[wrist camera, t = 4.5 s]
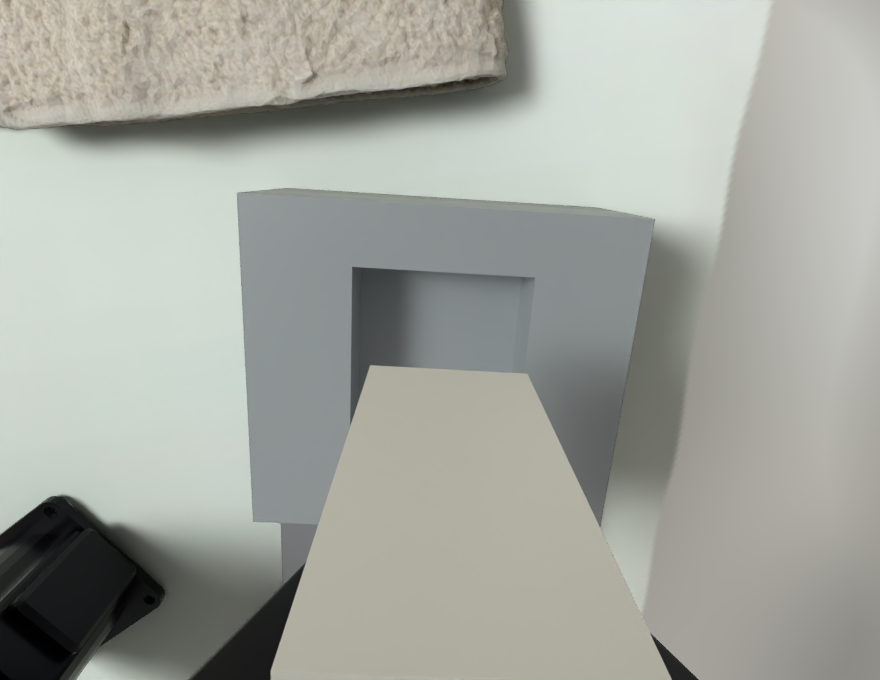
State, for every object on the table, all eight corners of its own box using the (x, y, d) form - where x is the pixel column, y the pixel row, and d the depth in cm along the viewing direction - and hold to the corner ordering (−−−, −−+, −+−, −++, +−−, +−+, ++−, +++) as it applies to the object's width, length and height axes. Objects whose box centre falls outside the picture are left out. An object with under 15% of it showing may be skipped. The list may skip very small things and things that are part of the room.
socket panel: (534, 647, 25) (558, 759, 20) (297, 638, 24) (264, 751, 20) (598, 207, 19) (654, 219, 14) (286, 188, 19) (236, 192, 14)
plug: (504, 568, 12) (614, 1170, 5) (365, 561, 11) (261, 1168, 4) (527, 373, 10) (731, 808, 3) (370, 364, 10) (230, 793, 3)
